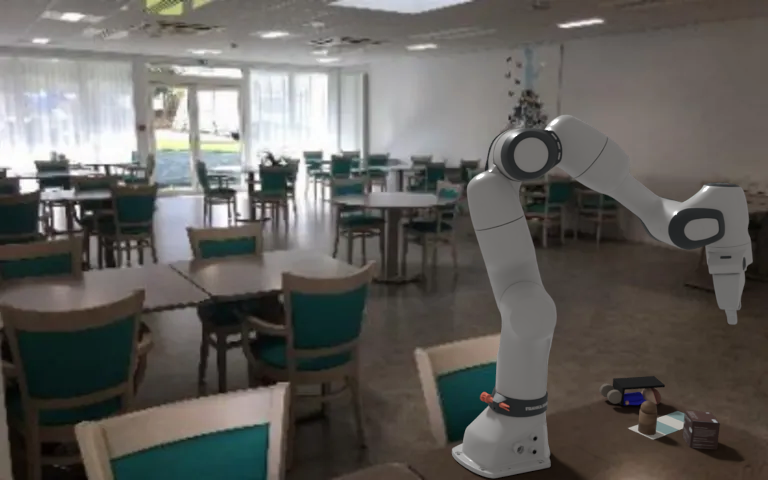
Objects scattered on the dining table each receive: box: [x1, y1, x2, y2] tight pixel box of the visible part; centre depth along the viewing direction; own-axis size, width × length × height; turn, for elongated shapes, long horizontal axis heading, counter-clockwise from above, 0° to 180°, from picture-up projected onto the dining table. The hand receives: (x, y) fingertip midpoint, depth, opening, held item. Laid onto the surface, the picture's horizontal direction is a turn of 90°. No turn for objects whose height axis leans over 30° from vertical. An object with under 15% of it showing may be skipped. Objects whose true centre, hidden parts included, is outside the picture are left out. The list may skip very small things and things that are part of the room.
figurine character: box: [598, 375, 666, 407], centre depth 175 cm, size 7×8×15 cm
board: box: [627, 410, 685, 440], centre depth 163 cm, size 20×7×1 cm, turn 123°
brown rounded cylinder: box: [637, 401, 659, 435], centre depth 158 cm, size 4×4×8 cm
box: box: [682, 410, 721, 450], centre depth 153 cm, size 6×6×7 cm
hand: (734, 316), depth 146 cm, fingers open, 8 cm apart
